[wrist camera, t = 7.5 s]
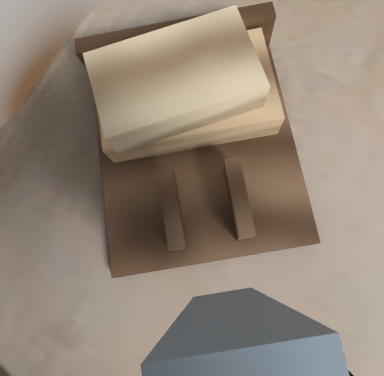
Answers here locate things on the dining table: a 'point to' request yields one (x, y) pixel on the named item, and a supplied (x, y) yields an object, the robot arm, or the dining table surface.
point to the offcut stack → (184, 87)
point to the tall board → (245, 340)
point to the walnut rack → (204, 189)
